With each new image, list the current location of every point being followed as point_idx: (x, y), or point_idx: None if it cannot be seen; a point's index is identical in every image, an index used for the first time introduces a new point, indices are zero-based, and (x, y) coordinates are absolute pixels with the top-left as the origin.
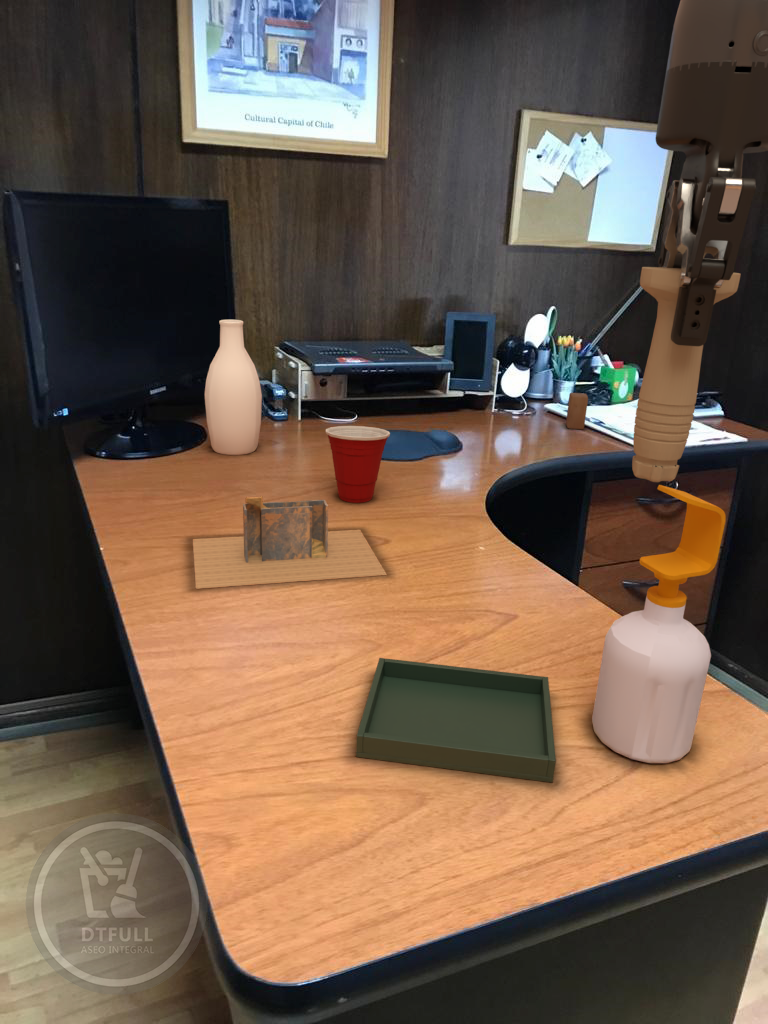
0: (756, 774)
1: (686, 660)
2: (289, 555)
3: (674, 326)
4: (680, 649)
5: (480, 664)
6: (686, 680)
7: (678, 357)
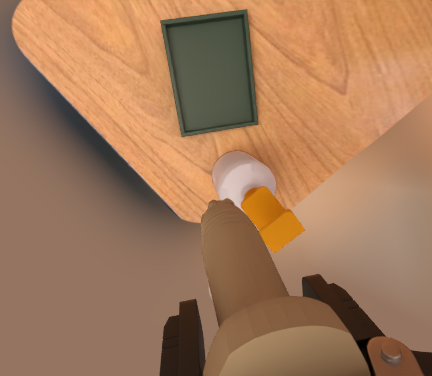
0: None
1: None
2: None
3: (180, 317)
4: None
5: (277, 79)
6: None
7: (211, 292)
